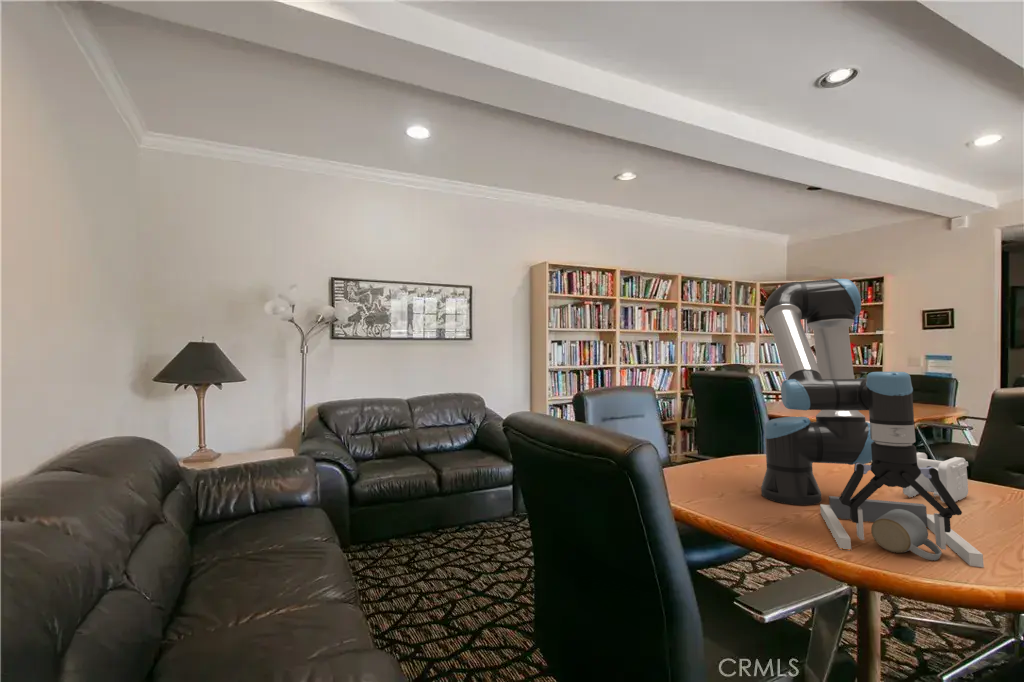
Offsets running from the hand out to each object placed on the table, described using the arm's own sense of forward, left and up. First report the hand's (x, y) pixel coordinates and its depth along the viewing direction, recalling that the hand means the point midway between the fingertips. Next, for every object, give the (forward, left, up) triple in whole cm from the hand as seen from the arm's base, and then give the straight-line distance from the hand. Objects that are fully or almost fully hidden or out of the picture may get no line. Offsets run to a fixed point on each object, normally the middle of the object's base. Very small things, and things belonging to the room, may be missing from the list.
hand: (899, 542), depth 97 cm
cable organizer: (+20, +45, -2) cm, 49 cm away
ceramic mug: (+1, -1, -2) cm, 2 cm away
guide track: (0, +7, -1) cm, 7 cm away
